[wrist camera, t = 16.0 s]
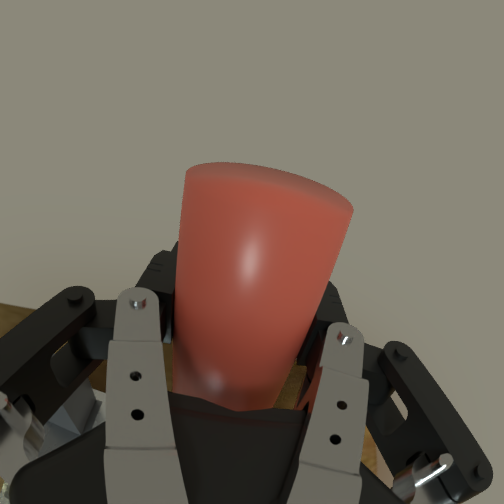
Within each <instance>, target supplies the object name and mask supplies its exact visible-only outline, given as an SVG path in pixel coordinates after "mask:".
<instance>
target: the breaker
mask: <svg viewBox="0 0 504 504" xmlns="http://www.w3.org/2000/svg"><path fill="white" fill-rule="evenodd" d="M54 355H55V354H53V355H52V357H53V356H54ZM52 357H51V358H52ZM95 401H96V397H95V395H94V392H93V389H92V387H91V384H90V381H89V379H88V377H87V379H86V380H85V381H84V382H83V383H82V384H81V385H80V386H79V387H78V388H77V389H76V390H75V392H74V393H73V394H72V395H71V396H70V397H69V398H68V399H67V400H66V401H65V403H64V404H63V405H62V406H61V407H60V408H59V409H58V410H57V411H56V413H55V414H54V415H53V416H52V417H51V418H50V419H49V420H48V421H49V422H52V423H54V424H56V425H58V426H60V427H62V428H65V429H67V430H69V431H71V432H74V433H76V434H79V435H82V433H83V430H84V428H85V425H86V423H87V420H88V418H89V415H90V413H91V410H92V408H93V406H94V403H95Z"/></svg>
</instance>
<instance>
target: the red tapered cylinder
mask: <svg viewBox="0 0 504 504" xmlns="http://www.w3.org/2000/svg"><path fill="white" fill-rule="evenodd" d="M352 214H353V206H352V205H351V203H350V202H349V201H348V200H347V199H345V198H344V197H343V196H342V195H340V194H339V193H337V192H336V191H334V190H332V189H330V188H328V187H326V186H324V185H322V184H320V183H318V182H315V181H313V180H310V179H307V178H304V177H302V176H299V175H296V174H292V173H289V172H285V171H281V170H277V169H273V168H268V167H263V166H257V165H250V164H242V163H229V162H216V163H205V164H200V165H196V166H193V167H191V168H189V169H188V170H187V171H186V177H185V185H184V193H183V201H182V210H181V220H180V230H179V241H178V253H177V266H176V281H175V298H174V321H173V392H174V393H178V394H183V395H188V396H193V397H198V398H202V399H204V400H207V401H209V402H212V403H214V404H217V405H219V406H222V407H225V408H227V409H230V410H233V411H238V412H239V411H251V410H261V409H269V408H273V406H274V404H275V402H276V400H277V398H278V396H279V393H280V391H281V389H282V387H283V385H284V383H285V381H286V379H287V377H288V375H289V373H290V371H291V368H292V366H293V364H294V362H295V360H296V358H297V355H298V353H299V351H300V349H301V346H302V344H303V342H304V340H305V337H306V335H307V333H308V330H309V328H310V326H311V323H312V321H313V319H314V316H315V314H316V311H317V309H318V306H319V304H320V302H321V299H322V297H323V294H324V291H325V289H326V286H327V284H328V281H329V279H330V276H331V273H332V271H333V268H334V265H335V263H336V260H337V257H338V255H339V252H340V249H341V246H342V243H343V240H344V238H345V234H346V232H347V229H348V226H349V223H350V220H351V217H352Z"/></svg>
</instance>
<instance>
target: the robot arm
mask: <svg viewBox="0 0 504 504" xmlns="http://www.w3.org/2000/svg"><path fill="white" fill-rule="evenodd" d="M177 253H178V241H177V242H176V244H175V246H174V247H173V249H172V251H171V252H170V251H165V250H162V251H161V252H159V253H158V254H156V255H154V257H153V258H152V260H151V262H150V264H149V265H148V266H147V269H146V270H145V271H144V273H143V274H142V276H141V278H140V279H139V281H138V283H137V284H136V286H135V287H134V288H129V289H127V290H125V291H123V292H122V293H121V294H120V295H119V296H118V299H117V300H95V296H94V293H93V292H92V291H91V290H90V289H89V288H86V287H83V286H73V287H69V288H66V289H64V290H63V291H62V292H60V293H58V294H57V295H56V296H54V297H53V298H52V299H50V300H49V301H48V302H46V303H45V304H44V305H42V306H41V307H40V308H38V309H37V310H36V311H34V312H33V313H32V314H30V315H29V316H28V317H27V318H25V319H24V320H23V321H22V322H20V323H19V324H18V325H16V326H15V327H14V328H13V329H11V330H10V331H9V332H8V333H7V334H5V335H4V336H3V337H2V338H0V476H1V477H2V478H3V479H4V481H5V482H6V483H7V484H8V485H9V486H10V489H9V502H10V504H461V503H463V502H465V501H467V500H469V499H471V498H472V497H474V496H476V495H478V494H479V493H481V492H483V491H484V490H486V489H487V488H488V487H489V486H490V484H491V482H492V479H493V470H492V467H491V464H490V462H489V461H488V459H487V457H486V456H485V454H484V452H483V451H482V449H481V448H480V446H479V444H478V443H477V441H476V440H475V438H474V437H473V435H472V433H471V432H470V431H469V429H468V427H467V426H466V424H465V423H464V422H463V420H462V418H461V417H460V415H459V414H458V412H457V411H456V410H455V408H454V407H453V405H452V404H451V402H450V401H449V399H448V398H447V397H446V395H445V394H444V392H443V391H442V390H441V388H440V387H439V385H438V384H437V383H436V381H435V380H434V378H433V377H432V376H431V374H430V373H429V372H428V370H427V369H426V368H425V366H424V365H423V364H422V362H421V361H420V360H419V358H418V357H417V356H416V354H415V353H414V352H413V350H412V349H411V348H410V347H408V346H407V345H405V344H404V343H402V342H398V341H390V342H388V343H387V344H386V345H385V346H384V348H383V349H381V348H378V347H375V346H371V345H369V344H366V343H364V338H363V335H362V334H361V332H360V331H359V330H357V328H355V327H354V326H352V325H350V324H349V323H348V320H347V317H346V314H345V311H344V308H343V305H342V302H341V300H340V298H339V294H338V291H337V289H336V287H335V286H334V285H333V284H332V283H331V282H330V281H328V284H327V286H326V289H325V291H324V294H323V297H322V299H321V302H320V304H319V306H318V309H317V311H316V314H315V316H314V319H313V321H312V323H311V326H310V328H309V330H308V333H307V335H306V337H305V340H304V342H303V344H302V346H301V349H300V351H299V353H298V355H297V358H296V360H297V365H302V366H306V367H307V371H306V373H305V375H304V377H303V380H302V383H301V387H300V390H299V393H298V396H297V399H296V403H295V406H294V409H293V410H289V409H277V408H269V409H261V410H251V411H239V412H238V411H233V410H230V409H227V408H225V407H222V406H219V405H217V404H214V403H212V402H209V401H207V400H204V399H202V398H198V397H193V396H188V395H183V394H178V393H174V392H169V391H167V386H166V377H165V368H164V358H163V347H162V343H163V342H164V343H169V344H171V341H172V338H173V321H174V298H175V281H176V266H177ZM67 341H68V343H67V344H66V345H64V346H63V347H62V348H61V349H60V350H59V351H58V352H57V353H56V354H55V355H54V356H53V357H52V355H53V354H54V353H55V352H56V351H57V350H58V349H59V348H60V347H61V346H62V345H63V344H64V343H66V342H67ZM51 357H52V358H51ZM104 359H105V360H108V361H107V377H106V421H105V422H103V423H101V424H100V425H98V426H96V427H94V428H93V429H91V430H89V431H87V432H86V433H84V434H82V435H80V436H78V437H77V438H75V439H73V440H71V441H69V442H68V443H66V444H64V445H62V446H60V447H58V448H56V449H55V450H53V451H51V452H49V453H47V454H45V455H43V456H41V457H39V458H38V452H39V450H41V449H42V447H43V442H44V438H45V431H44V427H43V426H44V425H45V424H46V423H47V421H48V420H49V419H50V418H51V417H52V416H53V415H54V414H55V413H56V411H57V410H58V409H59V408H60V407H61V406H62V405H63V404H64V403H65V401H66V400H67V399H68V398H69V397H70V396H71V395H72V394H73V393H74V392H75V390H76V389H77V388H78V387H79V386H80V385H81V384H82V383H83V382H84V381H85V380H86V379H87V377H88V376H89V375H90V374H91V373H92V372H93V371H94V370H95V369H96V368H97V367H98V366H99V365H100V364H101V363H102V361H103V360H104ZM395 390H396V392H397V393H398V395H399V396H400V398H401V399H402V401H403V403H404V404H405V406H406V407H407V410H408V416H407V419H406V420H405V419H404V418H403V417H402V415H401V413H400V411H399V410H398V408H397V406H396V405H395V403H394V401H393V400H392V398H391V397H390V396H391V395H392V394H393V392H394V391H395ZM365 424H366V426H367V428H368V430H369V432H370V434H371V435H372V437H373V439H374V441H375V443H376V445H377V447H378V449H379V451H380V452H381V454H382V456H383V458H384V460H385V462H386V464H387V466H388V468H389V469H390V471H391V473H392V475H393V477H394V480H393V487H391V489H389V488H388V487H387V486H386V485H385V484H384V483H383V482H382V481H381V480H380V479H379V478H378V477H377V476H376V475H374V474H373V473H372V472H371V471H370V470H369V469H368V468H367V467H366V466H365V465H364V464H363V463H362V462H361V454H362V447H363V440H364V432H365Z"/></svg>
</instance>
